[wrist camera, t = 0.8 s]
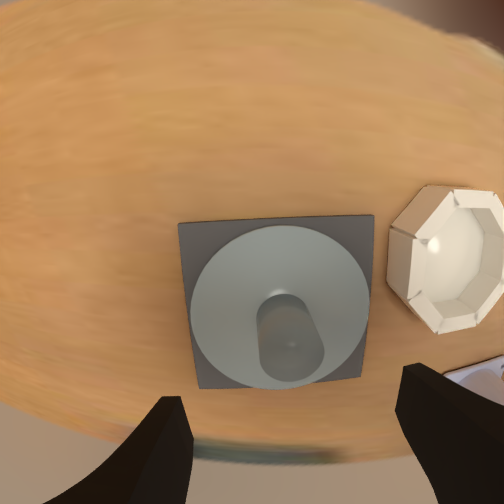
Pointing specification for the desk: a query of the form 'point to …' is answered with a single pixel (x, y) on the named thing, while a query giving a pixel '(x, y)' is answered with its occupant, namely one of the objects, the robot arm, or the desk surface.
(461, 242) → the bowl
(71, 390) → the desk surface
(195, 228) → the mat
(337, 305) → the lid
